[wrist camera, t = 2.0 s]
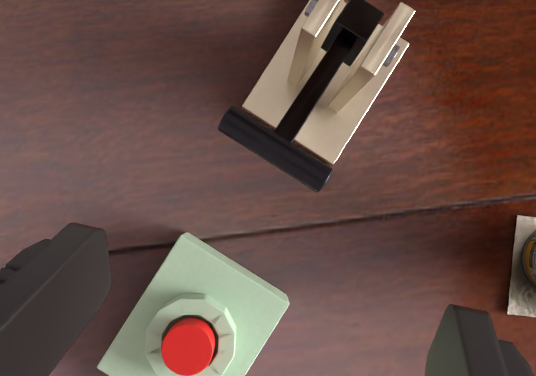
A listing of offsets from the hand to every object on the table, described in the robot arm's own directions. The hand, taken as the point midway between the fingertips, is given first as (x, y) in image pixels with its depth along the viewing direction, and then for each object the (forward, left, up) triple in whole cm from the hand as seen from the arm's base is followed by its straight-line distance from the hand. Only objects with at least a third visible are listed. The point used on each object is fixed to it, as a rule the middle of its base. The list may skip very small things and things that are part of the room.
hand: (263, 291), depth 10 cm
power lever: (+6, +7, -15) cm, 18 cm away
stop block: (-8, -6, -27) cm, 29 cm away
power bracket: (+9, +10, -27) cm, 30 cm away
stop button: (-8, -6, -23) cm, 25 cm away
